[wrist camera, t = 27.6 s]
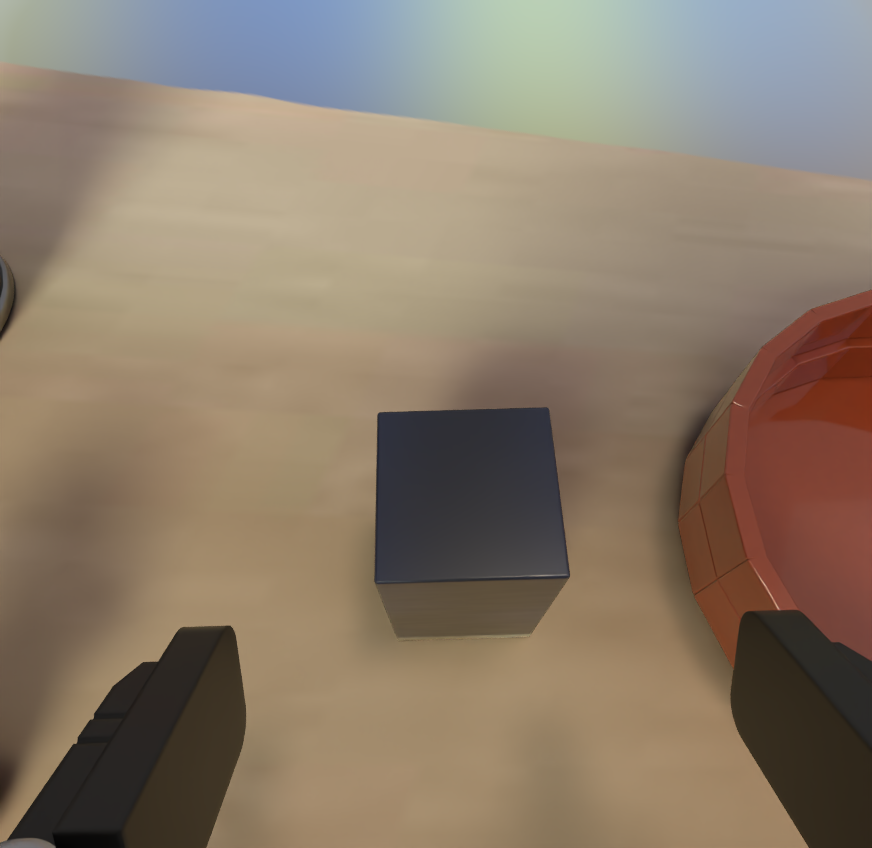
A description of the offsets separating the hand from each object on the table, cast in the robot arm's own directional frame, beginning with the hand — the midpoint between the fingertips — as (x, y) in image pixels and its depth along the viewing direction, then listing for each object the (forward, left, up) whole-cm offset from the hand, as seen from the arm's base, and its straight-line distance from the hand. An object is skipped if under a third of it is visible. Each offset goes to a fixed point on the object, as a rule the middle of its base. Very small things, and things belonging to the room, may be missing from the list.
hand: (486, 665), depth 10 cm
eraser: (0, +5, -12) cm, 13 cm away
